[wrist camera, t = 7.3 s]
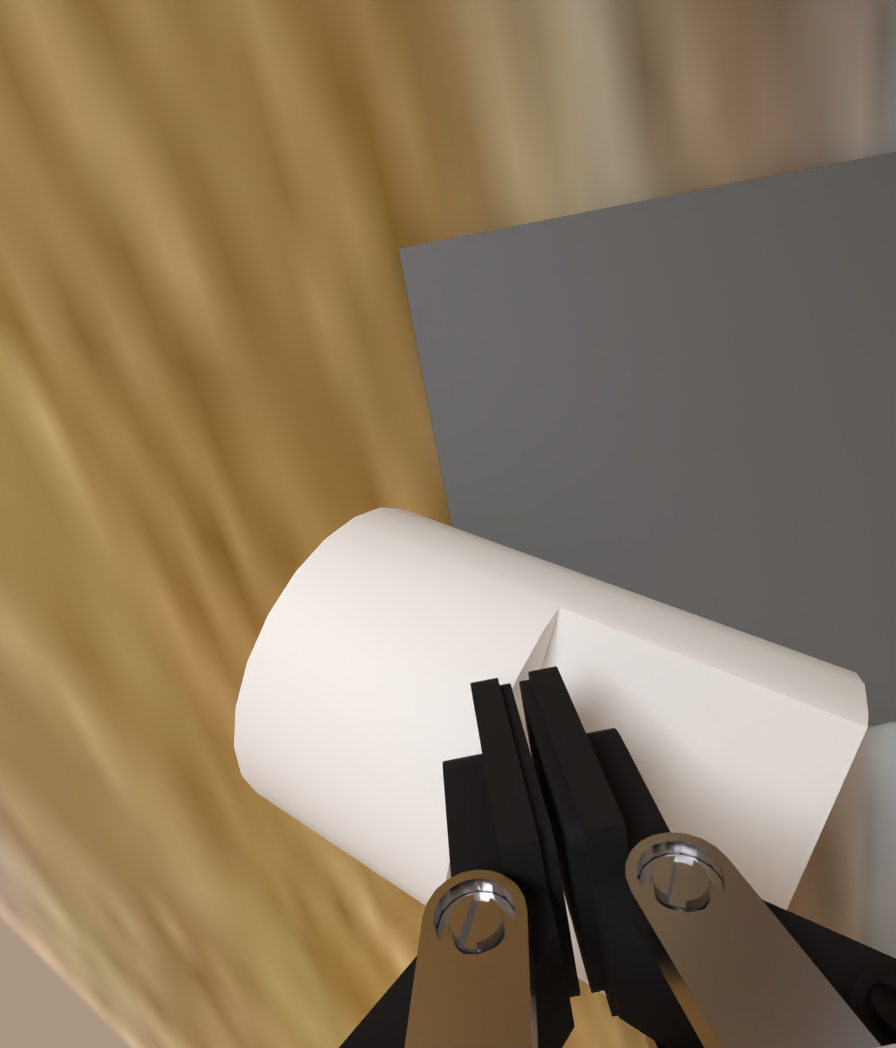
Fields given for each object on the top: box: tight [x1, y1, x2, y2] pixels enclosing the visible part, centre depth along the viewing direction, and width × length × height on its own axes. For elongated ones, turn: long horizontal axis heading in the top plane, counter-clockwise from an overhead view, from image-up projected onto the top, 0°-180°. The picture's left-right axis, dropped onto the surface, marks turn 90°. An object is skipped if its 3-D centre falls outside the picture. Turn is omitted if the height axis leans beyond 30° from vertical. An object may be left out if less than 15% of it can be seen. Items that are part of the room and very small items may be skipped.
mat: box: [399, 152, 896, 726], centre depth 22 cm, size 20×20×1 cm
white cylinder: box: [234, 507, 868, 996], centre depth 16 cm, size 9×9×12 cm
